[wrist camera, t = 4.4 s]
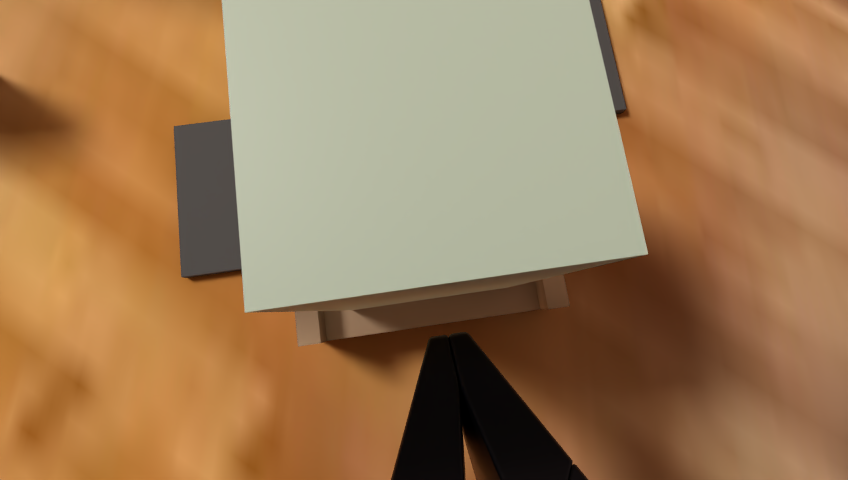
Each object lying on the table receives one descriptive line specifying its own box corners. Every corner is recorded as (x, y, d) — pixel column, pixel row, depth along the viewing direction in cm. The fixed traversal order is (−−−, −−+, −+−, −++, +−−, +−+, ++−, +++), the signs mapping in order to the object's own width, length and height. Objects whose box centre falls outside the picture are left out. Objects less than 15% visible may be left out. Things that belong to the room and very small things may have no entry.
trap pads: (645, 213, 19) (650, 211, 19) (186, 277, 18) (181, 277, 18) (592, -16, 21) (595, -22, 21) (173, 34, 20) (169, 29, 20)
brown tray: (543, 306, 18) (583, 305, 14) (318, 339, 18) (286, 349, 14) (474, -63, 22) (488, -159, 17) (280, -41, 21) (243, -134, 17)
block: (507, 287, 16) (647, 254, 6) (352, 310, 16) (244, 312, 6) (477, 119, 17) (557, -137, 7) (332, 137, 17) (214, -99, 7)
